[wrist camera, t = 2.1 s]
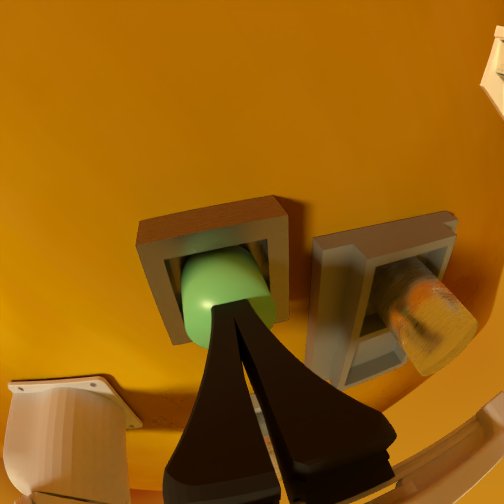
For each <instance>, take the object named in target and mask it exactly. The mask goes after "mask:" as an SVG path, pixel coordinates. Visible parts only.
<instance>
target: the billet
mask: <svg viewBox="0 0 504 504" xmlns="http://www.w3.org/2000/svg"><path fill="white" fill-rule="evenodd" d="M256 416H257V419H258V423H259V426H260V429H261V432H262V435H263V438H264V441H265V443H266V446H267V449H268V452H269V455H270V458H271V461H272V463H273V466H274V469H275V472H276V475H277V478H278V481H282V477H281V473H280V470H279V467H278V464H277V460H276V457H275V454H274V450H273V447H272V444H271V440H270V437H269V434H268V430H267V427H266V424H265V420H264V417H263V414H262V412H259V413H256Z"/></svg>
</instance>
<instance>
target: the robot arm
mask: <svg viewBox="0 0 504 504" xmlns="http://www.w3.org/2000/svg"><path fill="white" fill-rule="evenodd" d="M241 359H242V360H241ZM242 362H243V365H244V367H245V370H246V373H247V375H248V378H249V380H250V383H251V385H252V388H253V390H254V393H255V395H256V398H257V400H258V403H259V405H260V408H261V411H262V414H263V417H264V420H265V424H266V427H267V430H268V434H269V437H270V440H271V444H272V447H273V450H274V454H275V457H276V460H277V464H278V467H279V470H280V473H281V477H282V480H283V483H284V486H285V490H286V493H287V496H288V500H289V502H290V504H349V503H352V502H354V501H357V500H359V499H361V498H364V497H366V496H368V495H370V494H373V493H375V492H377V491H379V490H381V489H383V488H385V487H387V486H389V485H391V484H393V483H395V482H397V481H398V482H397V483H396V487H395V489H393V490H391V491H389V492H388V493H385V494H383V495H381V496H379V497H377V498H375V499H373V500H371V501H369V502H367V503H365V504H454V503H455V502H457V501H458V500H459V499H460V498H461V497H462V496H464V495H465V494H466V493H467V492H468V491H469V490H470V489H472V488H473V487H474V486H475V485H476V484H477V483H478V482H479V481H480V480H481V479H482V478H483V477H484V476H485V475H487V474H488V473H489V472H490V470H491V469H492V468H494V466H495V465H496V464H497V463H498V462H499V461H500V460H501V459H502V458H503V457H504V392H503V391H501V392H500V393H499V394H497V395H496V396H495V397H494V398H493V399H491V400H490V401H489V402H488V403H487V404H485V405H484V406H483V407H482V408H481V409H480V410H479V411H478V412H477V413H476V415H474V416H473V417H472V418H470V419H469V420H468V421H466V422H465V423H463V424H462V425H461V426H459V427H458V428H456V429H455V430H453V431H452V432H451V433H449V434H448V435H446V436H444V437H443V438H441V439H440V440H438V441H437V442H435V443H433V444H432V445H430V446H429V447H427V448H425V449H424V450H422V451H420V452H418V453H417V454H415V455H413V456H411V457H410V458H408V459H406V460H404V461H402V462H400V463H398V464H397V465H394V466H393V467H391V466H390V463H389V461H388V459H389V454H388V452H387V451H386V449H387V448H388V447H389V446H390V445H391V444H392V443H393V442H394V440H395V439H396V437H397V434H396V433H395V430H394V429H393V427H392V425H391V424H390V423H389V421H388V420H387V419H386V417H385V416H384V415H383V414H382V413H381V412H379V411H377V410H375V409H373V408H371V407H369V406H367V405H365V404H363V403H361V402H359V401H357V400H355V399H353V398H352V397H350V396H348V395H346V394H345V393H343V392H341V391H340V390H338V389H337V388H335V387H334V386H332V385H331V384H329V383H328V382H326V381H325V380H323V379H322V378H320V377H319V376H318V375H316V374H315V373H314V372H313V371H311V370H310V369H309V368H308V367H306V366H305V365H304V364H303V363H302V362H300V361H299V360H298V359H297V358H296V357H295V356H294V355H293V354H292V353H291V352H290V351H289V350H288V349H287V348H286V347H285V346H284V345H283V344H282V343H281V342H280V341H279V340H278V339H277V338H276V337H275V336H274V335H273V333H272V332H271V331H270V330H269V329H268V328H267V326H266V325H265V324H264V323H263V321H262V320H261V319H260V318H259V316H258V315H257V313H256V312H255V311H254V309H253V307H252V306H251V304H250V303H249V301H248V300H247V299H242V300H237V301H233V302H228V303H223V304H219V305H214V306H213V307H212V308H211V334H210V342H209V349H208V355H207V360H206V364H205V369H204V374H203V378H202V381H201V385H200V388H199V392H198V395H197V398H196V401H195V404H194V407H193V410H192V413H191V415H190V418H189V420H188V423H187V425H186V427H185V429H184V432H183V434H182V436H181V439H180V441H179V443H178V445H177V447H176V449H175V451H174V453H173V454H172V456H171V458H170V460H169V462H168V464H167V466H166V467H165V471H164V477H163V499H164V504H279V500H280V498H281V487H280V484H279V481H278V478H277V475H276V472H275V469H274V466H273V463H272V461H271V458H270V455H269V452H268V449H267V446H266V443H265V441H264V438H263V435H262V432H261V429H260V426H259V423H258V419H257V416H256V413H255V410H254V407H253V404H252V401H251V397H250V394H249V391H248V387H247V384H246V381H245V377H244V371H243V366H242ZM8 389H9V390H10V391H11V392H12V393H13V396H12V401H11V406H10V411H9V416H8V422H7V428H6V434H5V442H4V450H3V458H4V465H5V469H6V471H7V474H8V477H9V479H10V481H11V482H12V484H13V485H14V486H15V487H16V488H17V489H18V490H19V491H20V492H21V493H23V494H25V495H27V497H26V496H21V497H20V498H18V499H17V500H15V501H14V504H131V497H130V488H129V478H128V466H127V451H126V429H133V428H141V427H142V426H143V423H142V421H141V420H140V419H139V418H138V417H137V416H136V415H135V413H134V412H133V411H132V410H131V409H130V408H129V407H128V405H127V404H126V403H125V402H124V401H123V400H122V398H121V397H120V396H119V395H118V394H117V392H116V391H115V390H114V389H113V387H112V386H111V385H110V384H109V382H108V381H107V380H106V379H105V378H104V377H101V376H94V377H85V378H74V379H61V380H47V381H26V382H9V383H8Z"/></svg>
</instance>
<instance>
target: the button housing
mask: <svg viewBox="0 0 504 504" xmlns="http://www.w3.org/2000/svg"><path fill="white" fill-rule="evenodd" d="M234 245H237V246H240V247H242V248H244V249H246V250H247V251H248V252H250V253H251V254H252V256H253V257H254V258H255V260H256V262H257V264H258V266H259V269H260V271H261V273H262V275H263V278H264V280H265V282H266V284H267V287H268V289H269V291H270V294H271V296H272V298H273V300H274V303H275V305H276V310H277V313H276V319H275V322H274V324H275V323H279V322H283V321H286V320H289V226H288V214H287V213H286V211H285V210H284V209H283V207H282V206H281V205H280V204H279V202H278V201H277V200H276V198H275V197H274V196H273V195H272V196H266V197H260V198H254V199H248V200H242V201H237V202H231V203H226V204H221V205H215V206H210V207H205V208H200V209H195V210H190V211H185V212H180V213H175V214H170V215H166V216H161V217H156V218H152V219H147V220H143V221H139V227H138V233H137V239H136V248H137V251H138V254H139V257H140V260H141V263H142V266H143V269H144V272H145V275H146V278H147V280H148V283H149V286H150V289H151V291H152V294H153V297H154V299H155V302H156V304H157V307H158V310H159V312H160V315H161V317H162V320H163V322H164V325H165V327H166V329H167V332H168V334H169V337H170V339H171V341H172V344H173V345H179V344H184V343H189V342H193V341H192V340H191V339H190V338H189V336H188V335H187V332H186V329H185V323H184V314H183V304H182V294H181V283H180V275H181V271H182V268H183V266H184V264H185V263H186V261H187V260H188V259H189V258H190V257H191V256H192V255H193V254H194V253H199V252H204V251H209V250H214V249H219V248H224V247H229V246H234Z"/></svg>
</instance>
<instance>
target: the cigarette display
mask: <svg viewBox="0 0 504 504" xmlns="http://www.w3.org/2000/svg"><path fill="white" fill-rule="evenodd" d="M494 36H495V41H494V44H493V47H492V51H491V54H490V57H489V60H488V63H487V66H486V69H485V72H484V75H483V78H482V80H481V83H480V86H481V88H482V89H483V91H484V92H485V93H486V95H487V96H488V98H489V99H490V101H491V102H492V104H493V105H494V106H495V108H496V110H497V111H498V113H499V114H500V116H501V117H502V119H503V120H504V27H502V26H497V27H496V30H495V34H494Z"/></svg>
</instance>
